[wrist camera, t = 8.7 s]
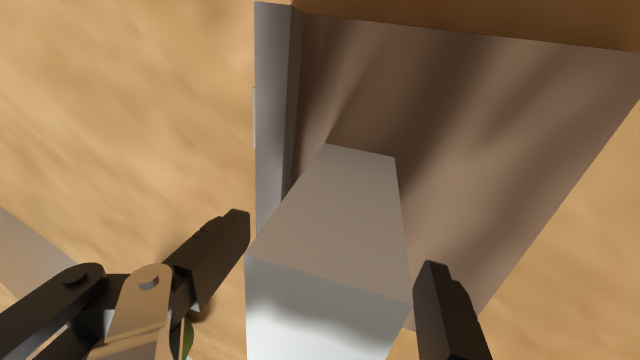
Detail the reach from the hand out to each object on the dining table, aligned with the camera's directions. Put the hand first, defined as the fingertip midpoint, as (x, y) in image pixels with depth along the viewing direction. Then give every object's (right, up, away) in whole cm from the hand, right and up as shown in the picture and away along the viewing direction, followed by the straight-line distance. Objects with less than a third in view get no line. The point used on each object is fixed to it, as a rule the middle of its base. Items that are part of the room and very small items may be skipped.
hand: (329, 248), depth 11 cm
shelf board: (+4, +2, +6) cm, 7 cm away
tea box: (+1, +2, +4) cm, 5 cm away
